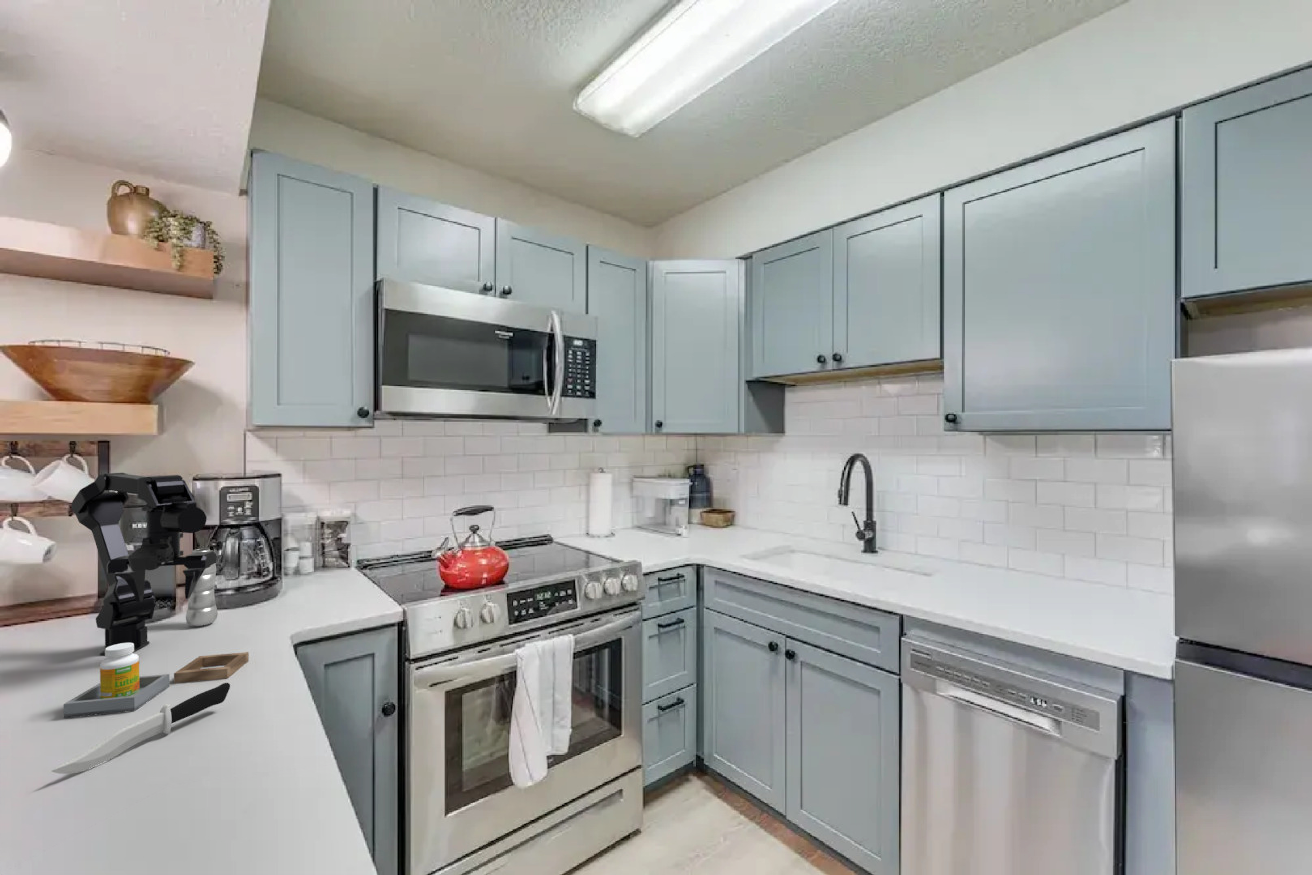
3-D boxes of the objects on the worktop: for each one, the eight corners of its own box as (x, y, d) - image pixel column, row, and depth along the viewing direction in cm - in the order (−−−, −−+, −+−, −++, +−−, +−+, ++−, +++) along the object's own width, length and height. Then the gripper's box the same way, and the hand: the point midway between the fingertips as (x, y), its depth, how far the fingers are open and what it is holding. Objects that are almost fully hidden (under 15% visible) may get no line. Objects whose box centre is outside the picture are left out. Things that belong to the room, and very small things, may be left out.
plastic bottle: (223, 622, 154) (223, 548, 154) (196, 630, 147) (195, 553, 147) (207, 620, 156) (206, 546, 156) (179, 627, 149) (178, 551, 149)
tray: (63, 718, 101) (63, 703, 101) (106, 692, 111) (105, 679, 111) (134, 711, 103) (134, 697, 103) (169, 686, 114) (169, 673, 114)
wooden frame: (174, 683, 115) (174, 673, 115) (199, 665, 124) (199, 656, 124) (227, 678, 117) (227, 668, 117) (248, 661, 127) (248, 652, 127)
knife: (55, 788, 81) (55, 752, 81) (47, 785, 81) (47, 750, 81) (232, 707, 105) (232, 680, 105) (225, 706, 105) (225, 679, 105)
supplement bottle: (114, 705, 104) (113, 652, 104) (92, 702, 106) (92, 650, 106) (147, 692, 110) (146, 642, 110) (125, 689, 111) (125, 639, 111)
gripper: (87, 539, 119) (88, 613, 119) (191, 534, 123) (191, 607, 123) (123, 530, 130) (124, 599, 130) (217, 527, 134) (218, 593, 134)
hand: (164, 599), depth 129 cm, fingers open, 9 cm apart
